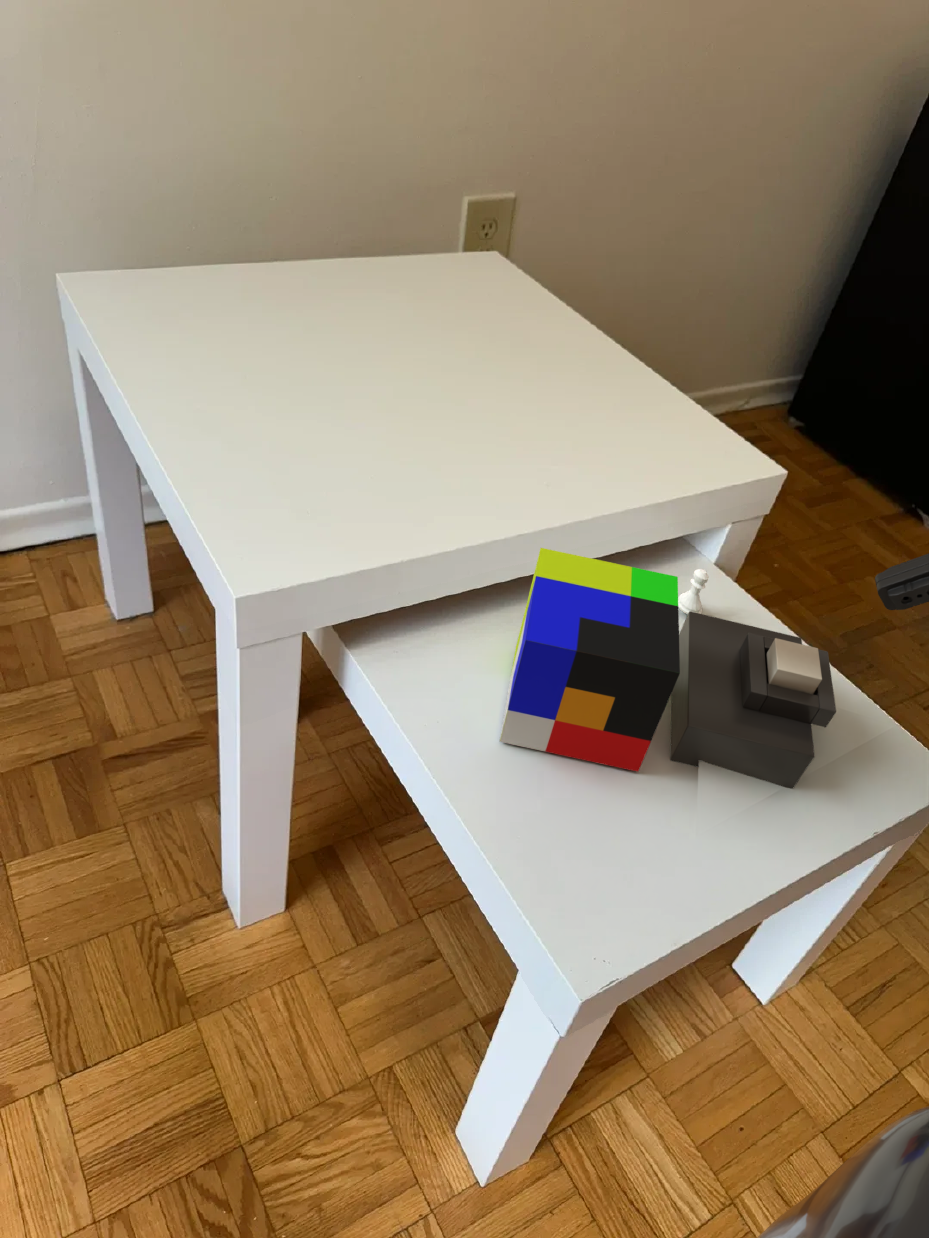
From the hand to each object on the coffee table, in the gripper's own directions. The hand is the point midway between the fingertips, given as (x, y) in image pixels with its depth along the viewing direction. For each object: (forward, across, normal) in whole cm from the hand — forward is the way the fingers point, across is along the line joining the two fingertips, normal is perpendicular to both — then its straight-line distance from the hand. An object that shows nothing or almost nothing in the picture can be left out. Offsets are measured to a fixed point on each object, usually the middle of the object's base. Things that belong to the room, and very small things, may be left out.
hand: (880, 594), depth 61 cm
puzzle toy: (+22, +3, -2) cm, 23 cm away
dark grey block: (+14, 0, +7) cm, 15 cm away
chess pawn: (+16, -11, +4) cm, 20 cm away
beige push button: (+8, 0, +4) cm, 9 cm away
